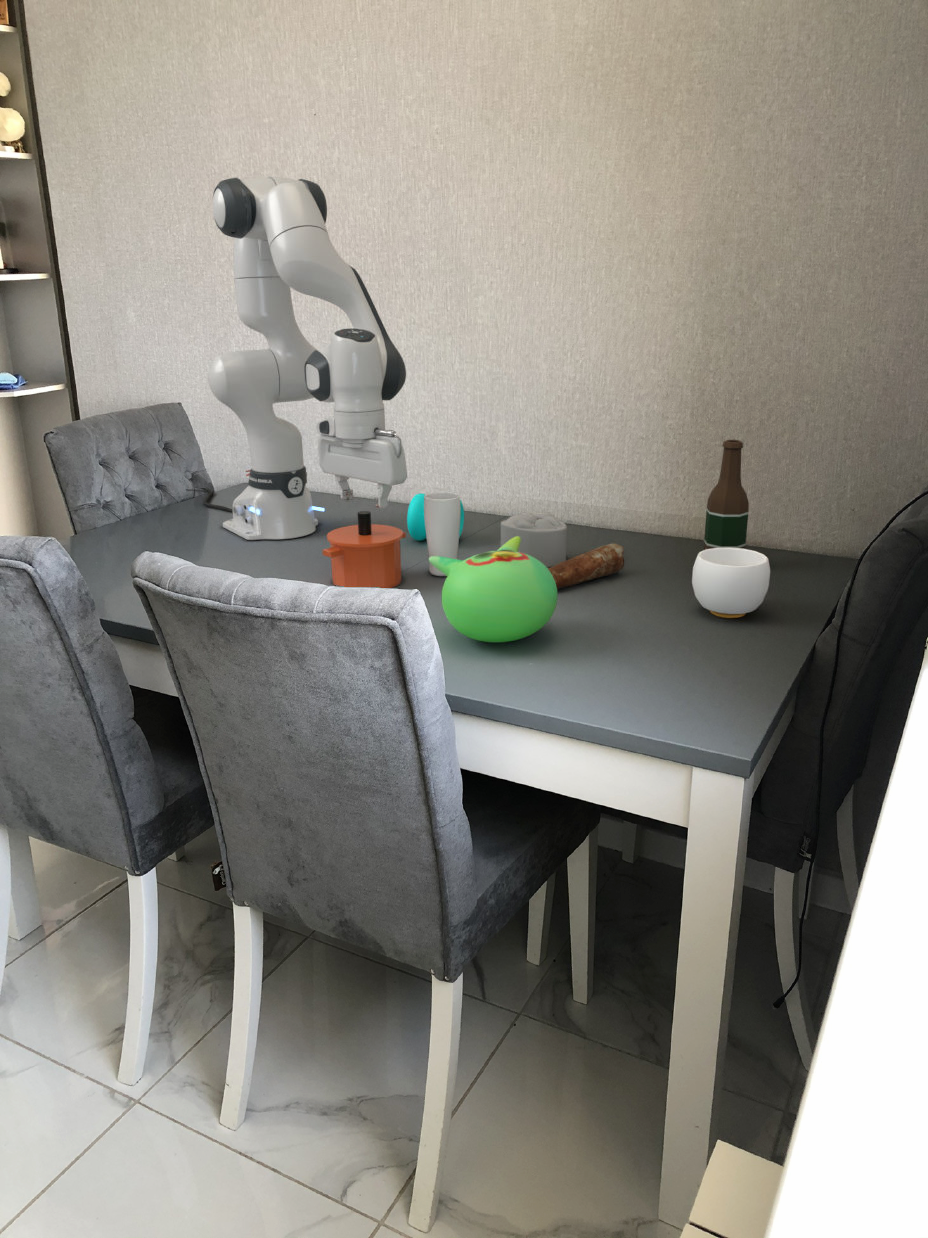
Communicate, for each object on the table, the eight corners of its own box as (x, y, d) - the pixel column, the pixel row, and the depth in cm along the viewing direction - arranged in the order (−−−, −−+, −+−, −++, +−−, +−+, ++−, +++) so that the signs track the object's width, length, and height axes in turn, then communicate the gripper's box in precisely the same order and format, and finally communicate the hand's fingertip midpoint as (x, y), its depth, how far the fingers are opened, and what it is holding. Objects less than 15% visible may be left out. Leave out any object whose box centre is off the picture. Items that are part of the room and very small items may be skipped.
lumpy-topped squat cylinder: (525, 547, 200) (525, 506, 197) (577, 558, 192) (579, 515, 189) (493, 558, 192) (493, 516, 189) (547, 570, 184) (548, 526, 181)
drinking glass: (457, 579, 180) (456, 500, 175) (421, 577, 181) (419, 499, 176) (464, 568, 186) (463, 492, 181) (430, 567, 187) (428, 490, 182)
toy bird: (467, 665, 141) (466, 569, 136) (425, 628, 156) (422, 540, 151) (574, 645, 148) (577, 553, 143) (524, 612, 163) (525, 527, 157)
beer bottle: (746, 562, 188) (758, 438, 179) (739, 573, 181) (751, 445, 173) (706, 558, 191) (716, 436, 182) (698, 569, 184) (707, 443, 176)
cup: (753, 630, 153) (759, 572, 150) (679, 617, 159) (683, 560, 156) (775, 607, 163) (780, 552, 160) (704, 596, 169) (708, 542, 166)
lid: (311, 541, 177) (309, 513, 175) (369, 526, 186) (367, 500, 184) (361, 555, 168) (359, 526, 166) (418, 539, 177) (417, 511, 175)
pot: (307, 585, 177) (304, 540, 175) (381, 564, 190) (379, 522, 187) (352, 600, 169) (349, 553, 166) (425, 577, 181) (424, 533, 178)
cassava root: (627, 574, 181) (628, 546, 179) (552, 596, 170) (553, 565, 168) (602, 567, 186) (604, 539, 184) (528, 587, 175) (529, 557, 173)
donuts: (450, 549, 199) (450, 501, 195) (405, 545, 202) (404, 498, 199) (466, 536, 208) (465, 491, 204) (422, 533, 211) (421, 488, 207)
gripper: (413, 429, 165) (416, 508, 169) (337, 419, 178) (341, 492, 183) (386, 433, 161) (389, 515, 165) (310, 423, 174) (315, 498, 179)
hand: (364, 503), depth 174 cm, fingers open, 8 cm apart
